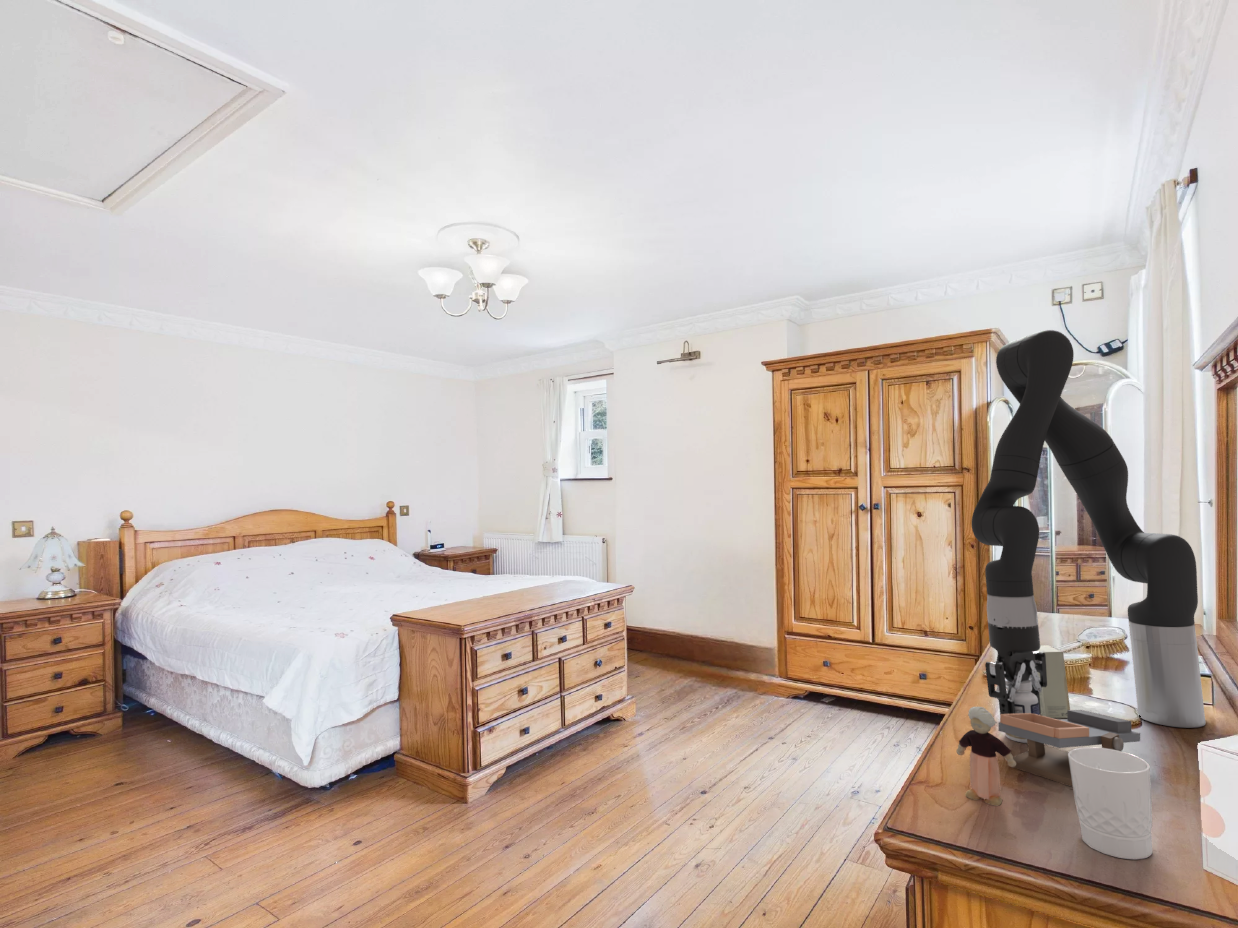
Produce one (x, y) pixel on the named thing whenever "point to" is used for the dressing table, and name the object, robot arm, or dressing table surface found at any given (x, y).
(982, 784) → the grandmother figurine
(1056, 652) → the skincare box
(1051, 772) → the balance stand
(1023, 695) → the pill bottle
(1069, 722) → the balance beam
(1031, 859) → the dressing table surface
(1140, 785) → the white cup
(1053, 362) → the robot arm
